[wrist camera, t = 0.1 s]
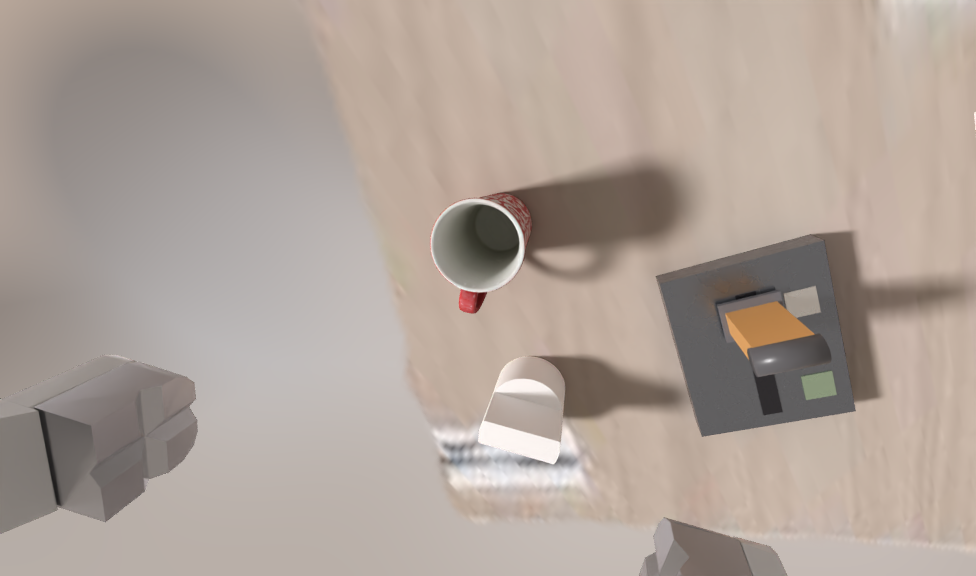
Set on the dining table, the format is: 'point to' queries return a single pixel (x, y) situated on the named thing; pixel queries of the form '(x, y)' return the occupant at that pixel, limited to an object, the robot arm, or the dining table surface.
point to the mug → (480, 245)
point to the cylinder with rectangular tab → (526, 410)
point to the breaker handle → (771, 335)
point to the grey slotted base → (723, 366)
